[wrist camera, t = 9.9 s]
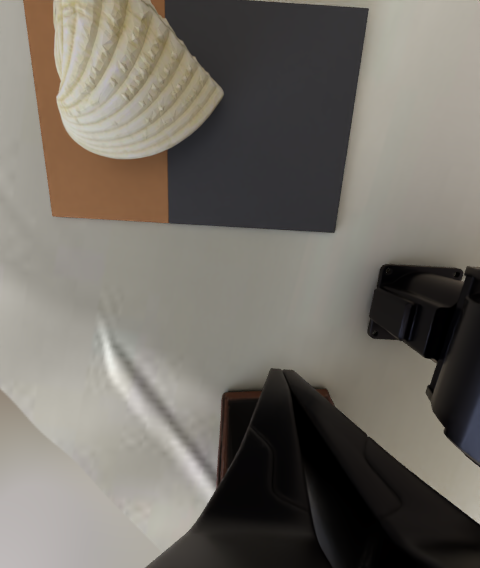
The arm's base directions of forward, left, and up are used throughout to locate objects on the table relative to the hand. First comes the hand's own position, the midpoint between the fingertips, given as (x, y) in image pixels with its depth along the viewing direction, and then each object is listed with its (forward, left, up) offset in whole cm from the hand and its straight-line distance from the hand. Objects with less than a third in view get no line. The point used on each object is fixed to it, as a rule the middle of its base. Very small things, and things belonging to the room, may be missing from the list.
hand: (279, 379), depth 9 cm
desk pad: (+5, -12, -12) cm, 18 cm away
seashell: (+9, -12, -12) cm, 19 cm away
